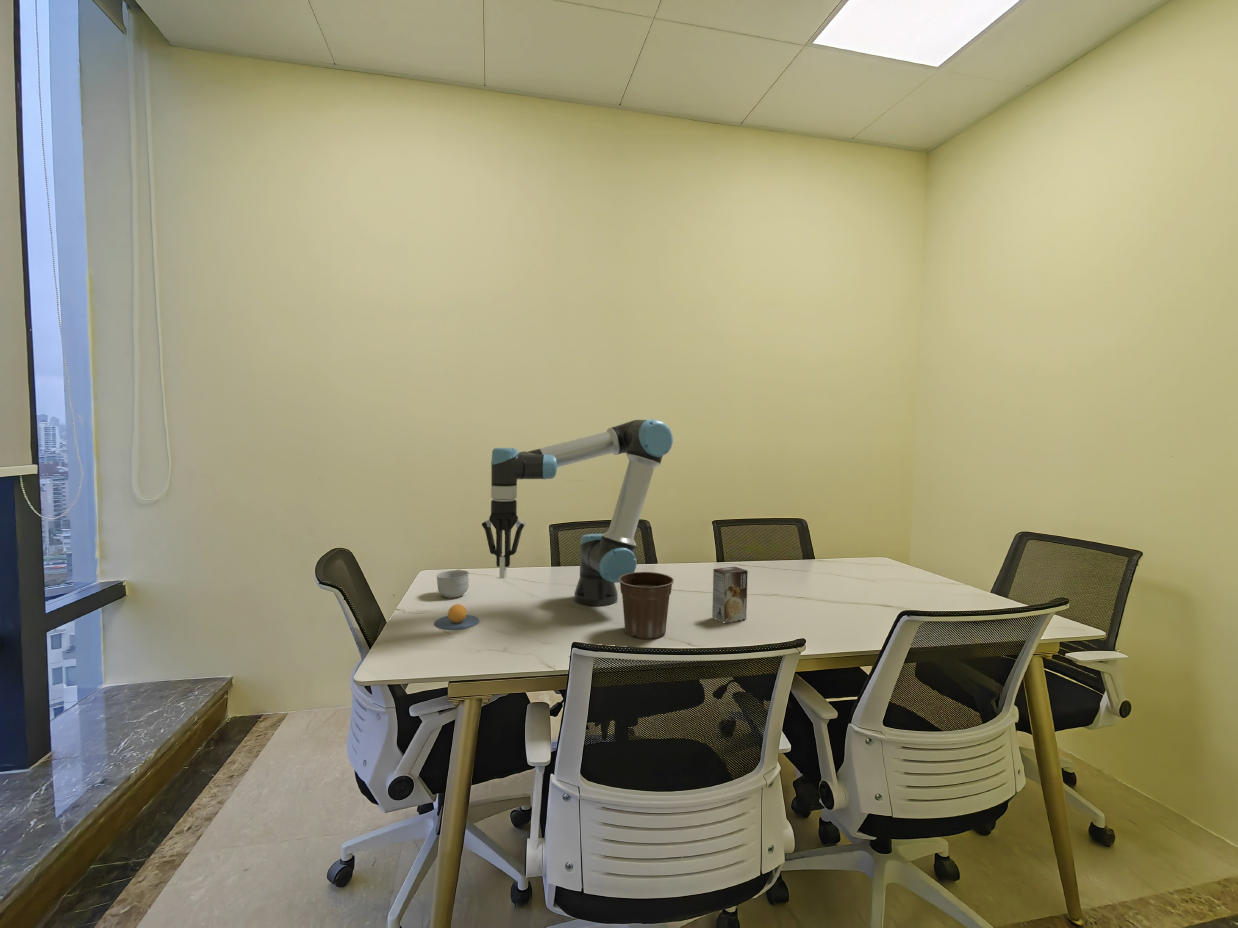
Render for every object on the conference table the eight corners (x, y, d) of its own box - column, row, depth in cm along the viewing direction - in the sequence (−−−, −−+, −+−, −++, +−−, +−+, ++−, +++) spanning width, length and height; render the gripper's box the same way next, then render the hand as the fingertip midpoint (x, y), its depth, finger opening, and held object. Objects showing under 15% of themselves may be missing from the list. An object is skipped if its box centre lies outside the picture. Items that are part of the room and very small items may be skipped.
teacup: (459, 601, 196) (459, 578, 195) (430, 598, 198) (430, 575, 197) (477, 590, 209) (477, 568, 209) (450, 587, 212) (450, 566, 211)
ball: (465, 621, 178) (471, 605, 177) (459, 628, 172) (466, 611, 172) (449, 615, 178) (455, 599, 177) (442, 621, 172) (448, 604, 172)
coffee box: (734, 613, 190) (735, 565, 188) (746, 619, 184) (748, 570, 183) (711, 617, 185) (713, 568, 184) (723, 623, 180) (725, 573, 179)
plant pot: (631, 645, 160) (632, 588, 159) (608, 626, 175) (610, 574, 174) (682, 638, 167) (683, 583, 166) (656, 620, 181) (658, 569, 180)
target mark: (484, 615, 181) (484, 615, 181) (471, 630, 169) (471, 629, 168) (443, 614, 182) (443, 613, 182) (427, 628, 169) (427, 628, 169)
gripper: (528, 498, 176) (527, 574, 177) (485, 497, 176) (485, 573, 178) (522, 501, 168) (521, 581, 170) (478, 500, 169) (478, 579, 170)
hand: (503, 577), depth 174 cm, fingers closed
